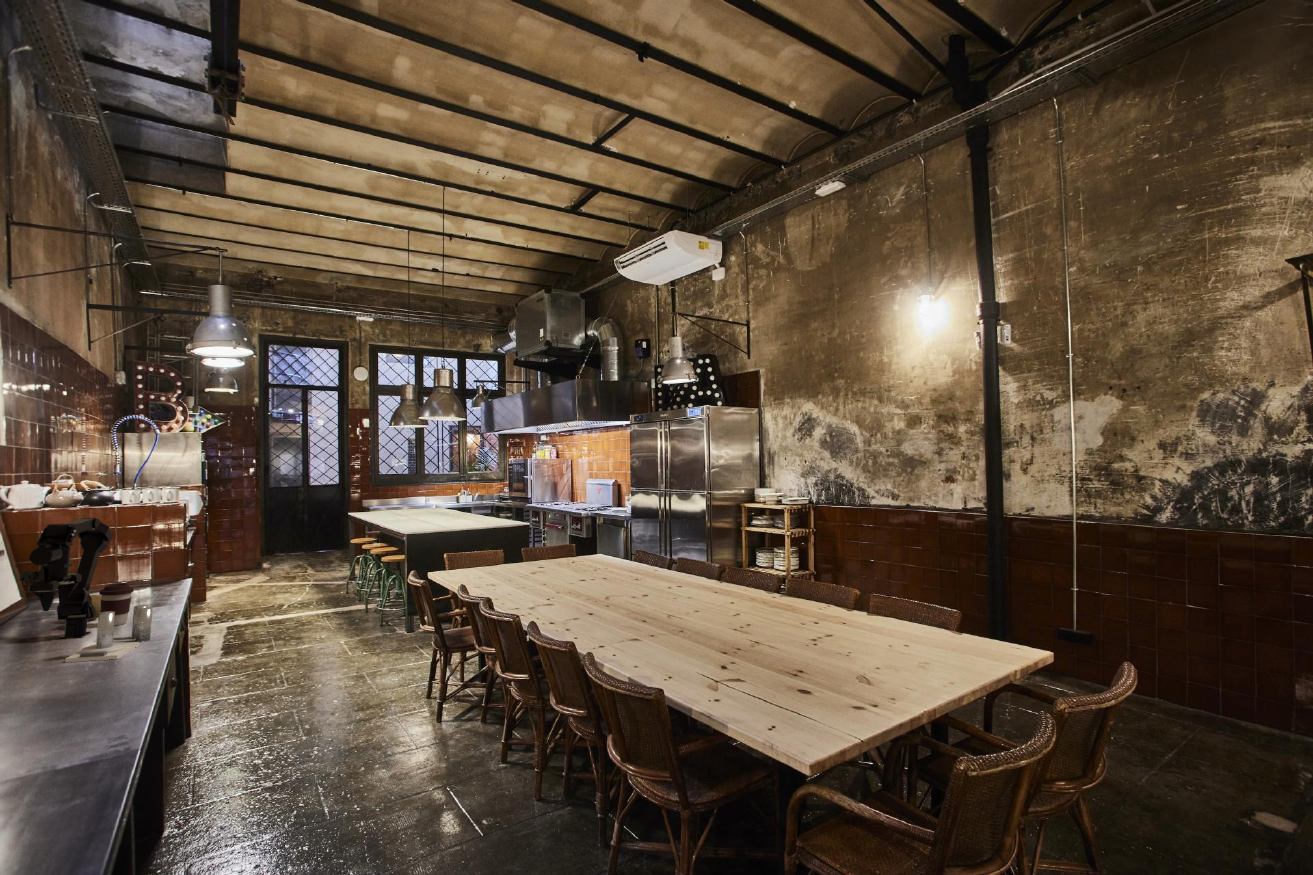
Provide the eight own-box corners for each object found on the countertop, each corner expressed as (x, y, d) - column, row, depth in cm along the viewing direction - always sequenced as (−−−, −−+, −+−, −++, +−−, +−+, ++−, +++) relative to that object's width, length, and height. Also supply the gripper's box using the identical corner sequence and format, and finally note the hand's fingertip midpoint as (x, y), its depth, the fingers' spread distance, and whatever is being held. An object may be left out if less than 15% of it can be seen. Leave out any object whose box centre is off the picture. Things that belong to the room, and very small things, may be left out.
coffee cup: (138, 621, 241) (140, 583, 241) (113, 628, 231) (116, 587, 232) (115, 620, 242) (117, 581, 242) (89, 626, 232) (92, 586, 233)
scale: (91, 648, 206) (92, 640, 206) (139, 645, 210) (139, 638, 211) (65, 662, 191) (65, 654, 191) (116, 659, 195) (117, 651, 196)
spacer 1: (95, 646, 201) (98, 612, 202) (112, 644, 204) (114, 610, 204) (96, 649, 198) (98, 614, 199) (112, 647, 201) (115, 612, 201)
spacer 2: (134, 636, 221) (136, 605, 222) (147, 635, 223) (150, 604, 223) (129, 639, 218) (131, 607, 218) (143, 638, 219) (145, 606, 220)
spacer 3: (138, 639, 218) (140, 607, 218) (152, 638, 219) (154, 607, 220) (133, 642, 214) (135, 610, 215) (147, 641, 215) (149, 609, 216)
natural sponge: (86, 624, 236) (88, 597, 236) (68, 622, 237) (70, 596, 238) (111, 618, 244) (113, 593, 245) (94, 617, 246) (96, 591, 247)
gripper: (43, 557, 213) (39, 603, 212) (9, 565, 196) (4, 615, 195) (84, 557, 217) (80, 601, 216) (53, 564, 199) (49, 613, 198)
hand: (54, 608), depth 206 cm, fingers open, 9 cm apart
